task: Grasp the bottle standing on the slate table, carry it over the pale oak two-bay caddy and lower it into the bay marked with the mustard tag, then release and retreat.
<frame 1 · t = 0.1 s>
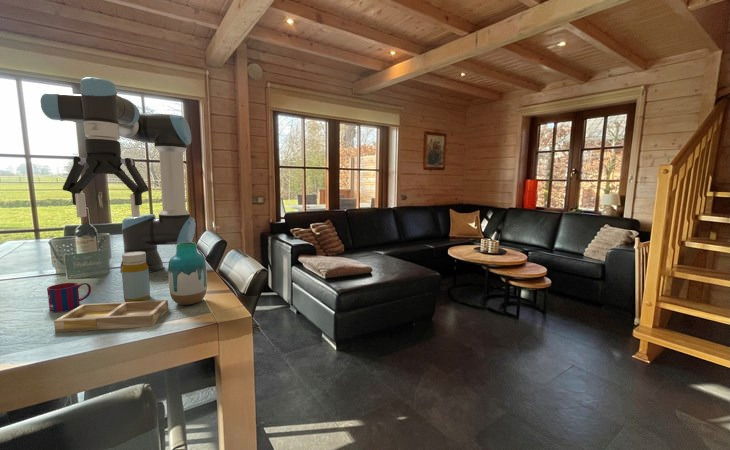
hand: (109, 217, 93), 28 cm above the table, fingers open, 13 cm apart
bottle: (137, 299, 107), on the table
mug: (72, 307, 100), on the table
caddy: (116, 319, 91), on the table
vase: (189, 303, 105), on the table
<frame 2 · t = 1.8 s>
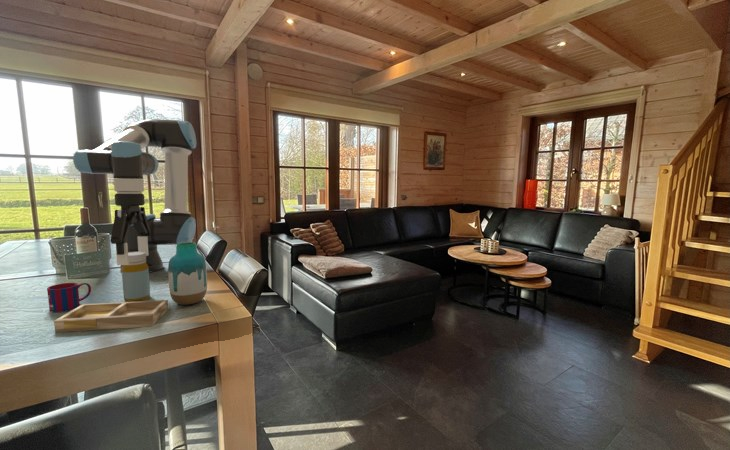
hand: (134, 260, 105), 13 cm above the table, fingers open, 13 cm apart
nothing on the table moved.
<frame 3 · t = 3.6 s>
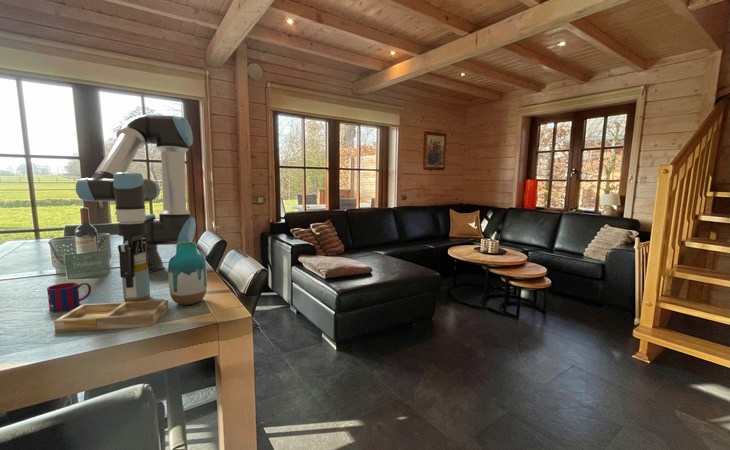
hand: (136, 293, 107), 2 cm above the table, fingers closed on bottle, 6 cm apart
bottle: (137, 299, 107), on the table, touching gripper
everything else where it was.
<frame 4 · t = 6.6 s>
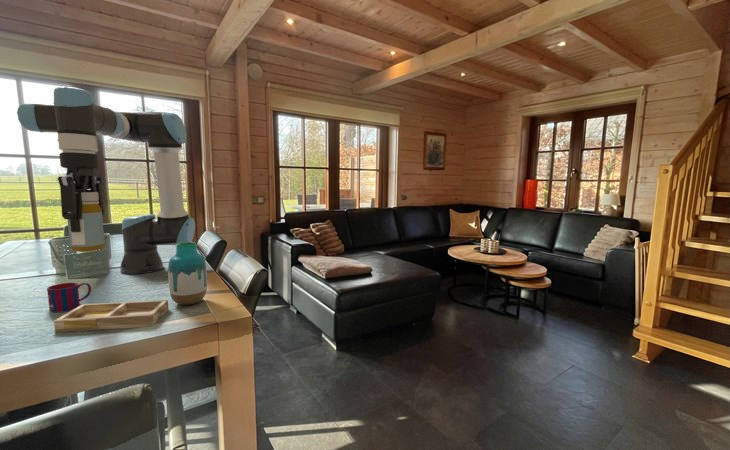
hand: (87, 242, 87), 22 cm above the table, fingers closed on bottle, 6 cm apart
bottle: (88, 249, 87), point 20 cm above the table, touching gripper
everything else where it was.
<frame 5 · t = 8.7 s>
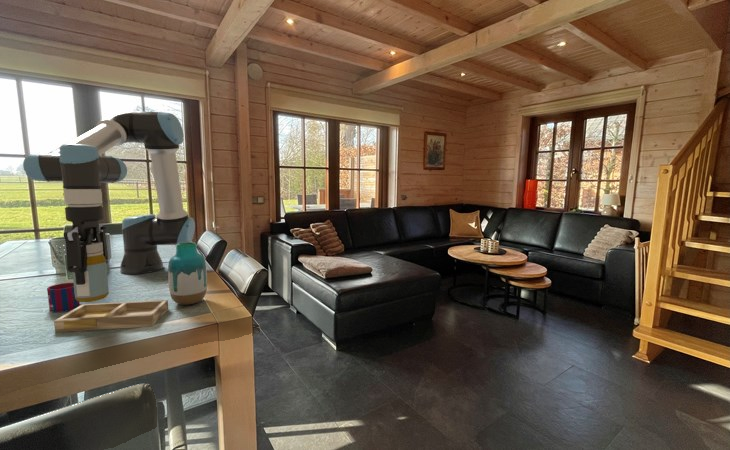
hand: (91, 291, 89), 8 cm above the table, fingers closed on bottle, 6 cm apart
bottle: (92, 298, 89), point 6 cm above the table, touching gripper
everything else where it was.
when the fingers open (4 cm above the table, at t = 10.1 s): bottle stays where it is, resting on caddy.
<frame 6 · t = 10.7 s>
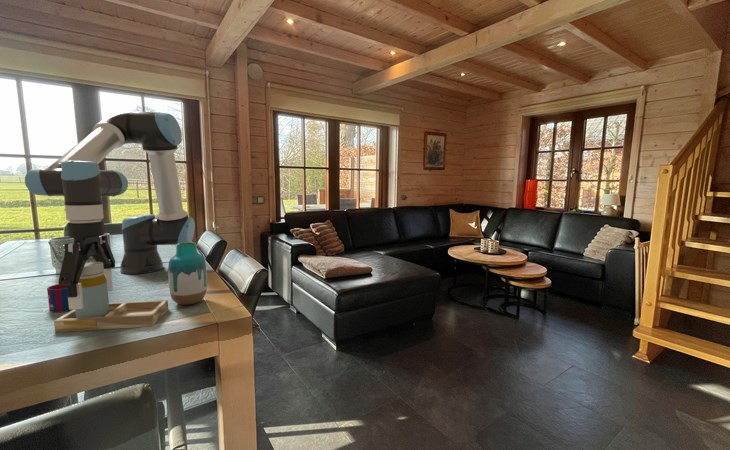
hand: (92, 299, 89), 6 cm above the table, fingers open, 13 cm apart
bottle: (93, 319, 90), point 1 cm above the table, touching caddy
everything else where it was.
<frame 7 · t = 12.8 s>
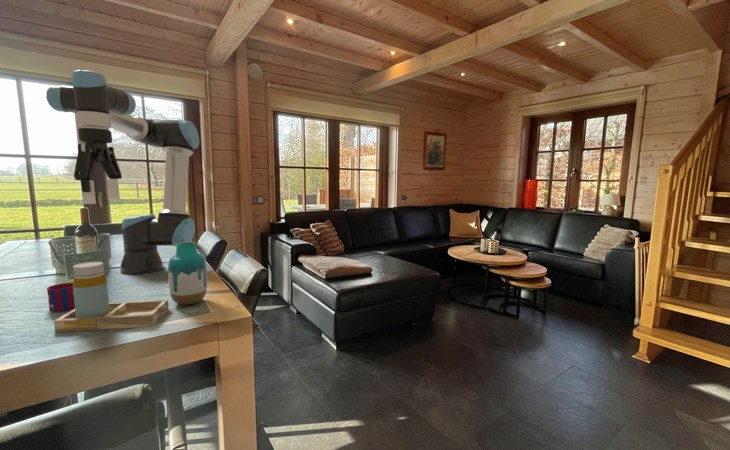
hand: (103, 201, 100), 32 cm above the table, fingers open, 13 cm apart
nothing on the table moved.
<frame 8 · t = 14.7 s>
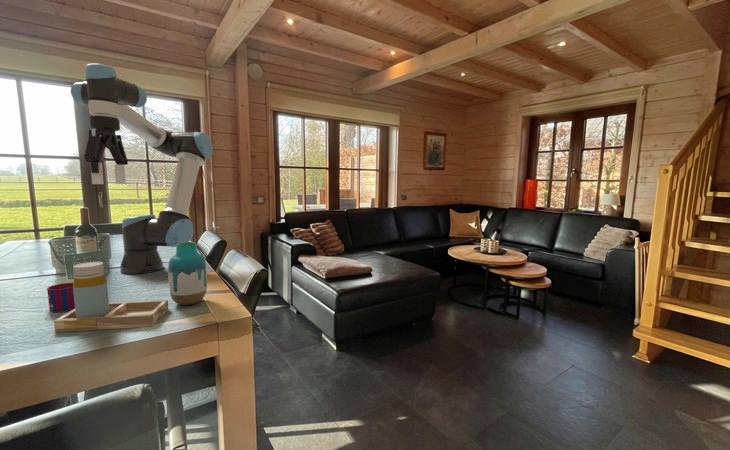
hand: (110, 184, 108), 37 cm above the table, fingers open, 13 cm apart
nothing on the table moved.
at the end: bottle inside the target area on the caddy (0.3 cm from its centre), point 0.7 cm above the caddy's base; bottle tilted 0°; the gripper is holding nothing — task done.
